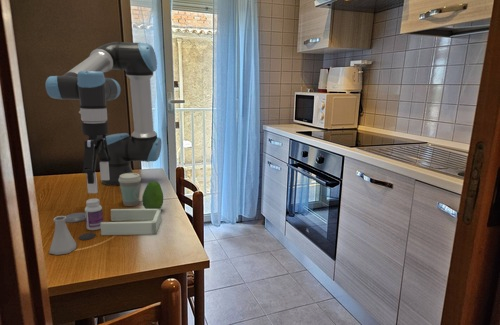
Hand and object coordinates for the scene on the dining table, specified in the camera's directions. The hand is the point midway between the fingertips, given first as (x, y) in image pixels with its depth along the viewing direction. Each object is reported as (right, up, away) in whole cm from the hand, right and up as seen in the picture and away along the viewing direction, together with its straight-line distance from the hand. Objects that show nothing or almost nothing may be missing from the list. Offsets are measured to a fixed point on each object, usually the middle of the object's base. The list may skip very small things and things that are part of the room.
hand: (99, 186), depth 109 cm
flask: (-5, -18, -12) cm, 22 cm away
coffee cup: (+1, -9, +25) cm, 27 cm away
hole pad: (-2, -16, -4) cm, 16 cm away
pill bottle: (-3, -14, +3) cm, 15 cm away
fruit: (+12, -11, +19) cm, 25 cm away
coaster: (-13, -12, +10) cm, 20 cm away
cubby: (+9, -14, +5) cm, 17 cm away
